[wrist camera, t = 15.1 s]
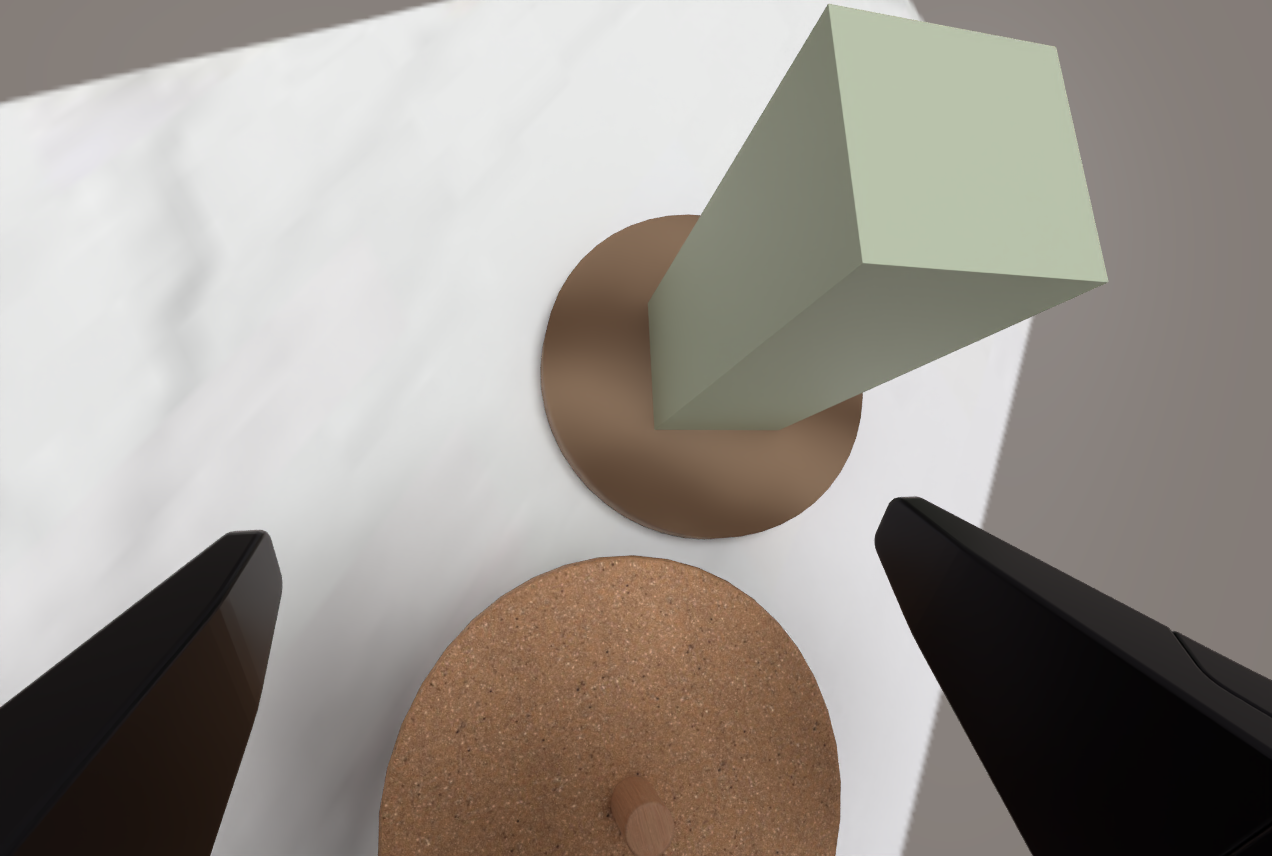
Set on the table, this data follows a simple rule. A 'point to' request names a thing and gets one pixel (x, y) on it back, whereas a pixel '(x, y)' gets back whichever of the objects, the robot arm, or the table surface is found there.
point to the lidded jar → (616, 726)
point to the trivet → (624, 420)
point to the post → (874, 224)
